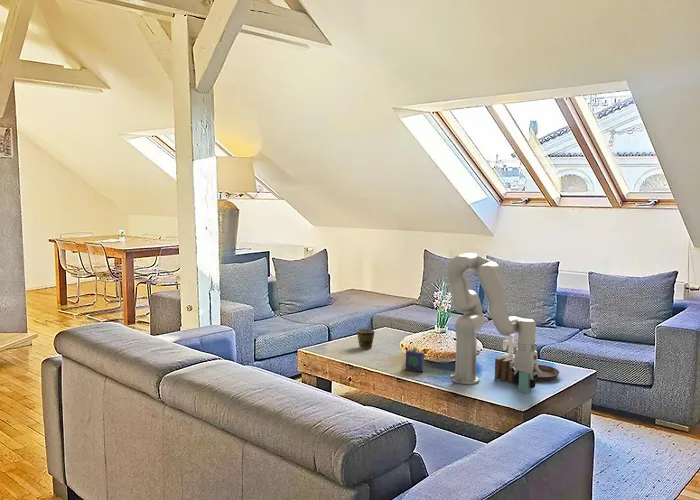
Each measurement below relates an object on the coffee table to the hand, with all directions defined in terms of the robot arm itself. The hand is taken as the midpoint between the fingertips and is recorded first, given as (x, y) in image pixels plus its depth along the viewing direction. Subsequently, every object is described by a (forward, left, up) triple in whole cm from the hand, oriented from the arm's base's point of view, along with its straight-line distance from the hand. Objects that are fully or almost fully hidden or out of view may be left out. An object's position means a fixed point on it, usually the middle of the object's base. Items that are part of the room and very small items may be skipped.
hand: (524, 385), depth 283 cm
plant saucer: (+25, +11, -3) cm, 28 cm away
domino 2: (+7, +16, -3) cm, 17 cm away
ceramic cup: (-8, +102, -3) cm, 102 cm away
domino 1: (+7, +20, -3) cm, 21 cm away
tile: (0, 0, -3) cm, 3 cm away
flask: (-16, +54, -3) cm, 56 cm away
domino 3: (+7, +12, -3) cm, 14 cm away
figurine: (+35, +34, -3) cm, 49 cm away
